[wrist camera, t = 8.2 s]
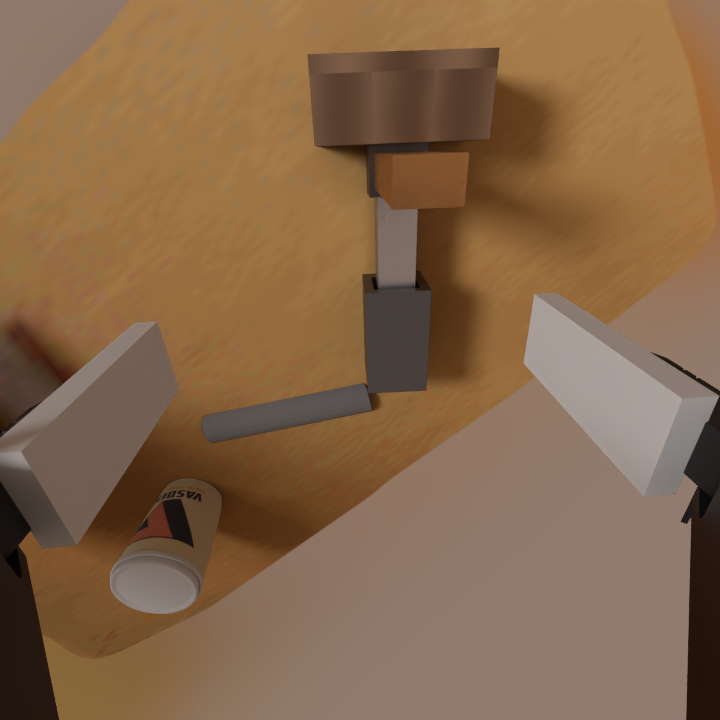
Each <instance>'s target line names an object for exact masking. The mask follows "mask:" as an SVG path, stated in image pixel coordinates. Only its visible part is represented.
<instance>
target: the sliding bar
mask: <svg viewBox="0 0 720 720" xmlns="http://www.w3.org/2000/svg"><path fill="white" fill-rule="evenodd" d="M468 163H469V152H429V142H415V143H389V144H368V145H366V165H367V193H368V195H369V197H370V198H371V197H375V260H376V290H387V289H409V288H415V276H416V246H417V216H418V209H428V208H452V207H465V198H466V186H467V175H468Z"/></svg>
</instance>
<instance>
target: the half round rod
mask: <svg viewBox="0 0 720 720" xmlns="http://www.w3.org/2000/svg"><path fill="white" fill-rule="evenodd" d="M370 411H372V406H371V402H370V397H369V394H368V391H367V388H366V386H365V385H364V384H358V385H353V386H348V387H343V388H338V389H333V390H328V391H324V392H319V393H314V394H309V395H304V396H299V397H294V398H289V399H284V400H279V401H274V402H270V403H265V404H260V405H255V406H250V407H245V408H240V409H235V410H230V411H225V412H221V413H216V414H211V415H206V416H204V417H203V421H202V428H203V432H204V435H205V437H206V438H207V440H208V441H209V442H212V443H214V442H220V441H225V440H230V439H235V438H240V437H245V436H250V435H255V434H260V433H265V432H270V431H275V430H280V429H285V428H290V427H295V426H300V425H305V424H310V423H315V422H320V421H325V420H330V419H335V418H340V417H345V416H350V415H355V414H360V413H365V412H370Z"/></svg>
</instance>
